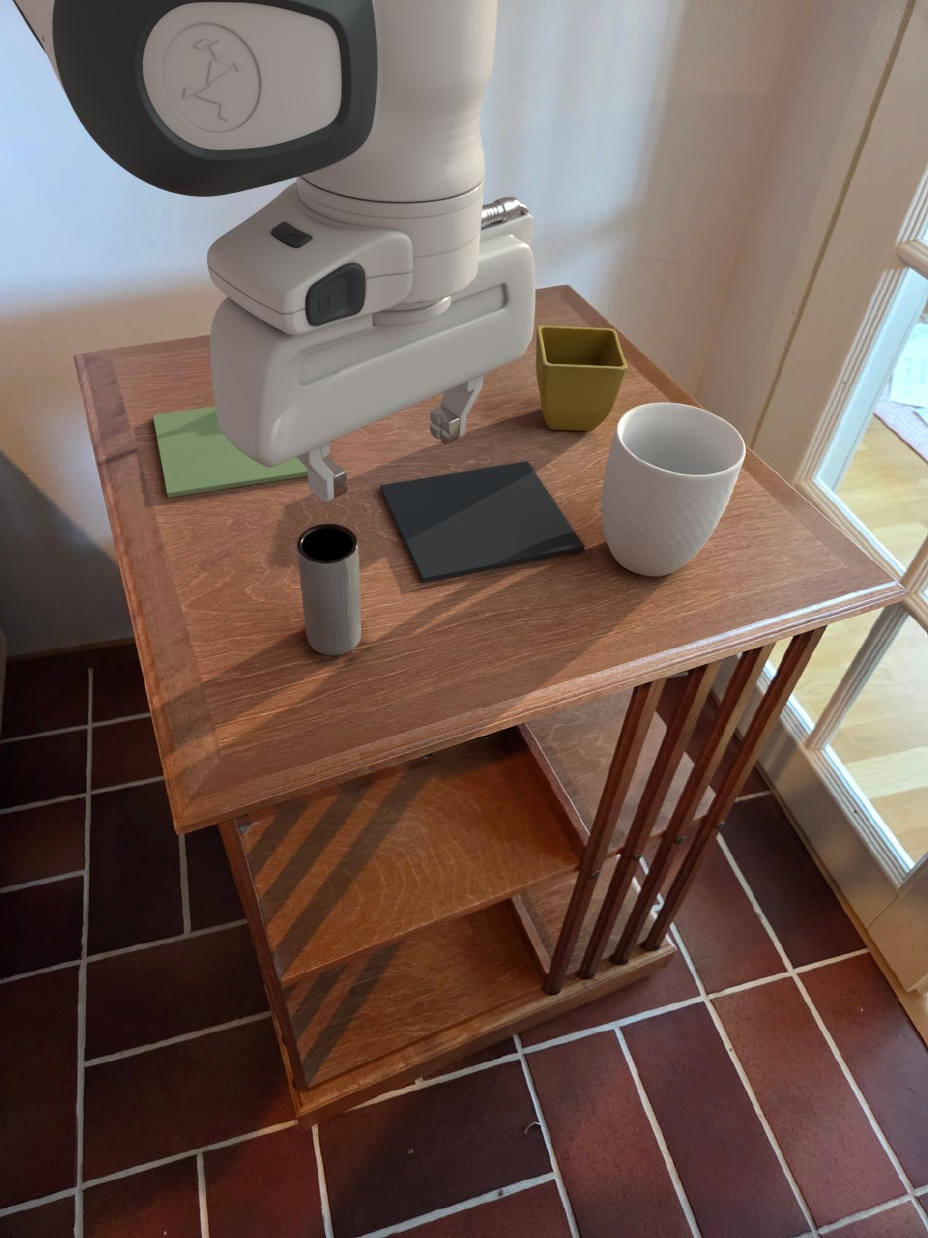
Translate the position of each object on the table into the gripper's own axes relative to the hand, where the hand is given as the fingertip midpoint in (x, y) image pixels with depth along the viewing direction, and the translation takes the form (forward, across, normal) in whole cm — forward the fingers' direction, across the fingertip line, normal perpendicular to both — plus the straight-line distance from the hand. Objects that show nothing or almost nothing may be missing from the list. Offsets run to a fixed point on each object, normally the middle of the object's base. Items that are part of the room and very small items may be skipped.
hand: (390, 463), depth 51 cm
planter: (+21, 0, -7) cm, 22 cm away
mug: (+21, -29, +3) cm, 36 cm away
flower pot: (+21, -40, -16) cm, 48 cm away
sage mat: (+21, -9, -35) cm, 41 cm away
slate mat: (+21, -20, -10) cm, 31 cm away
